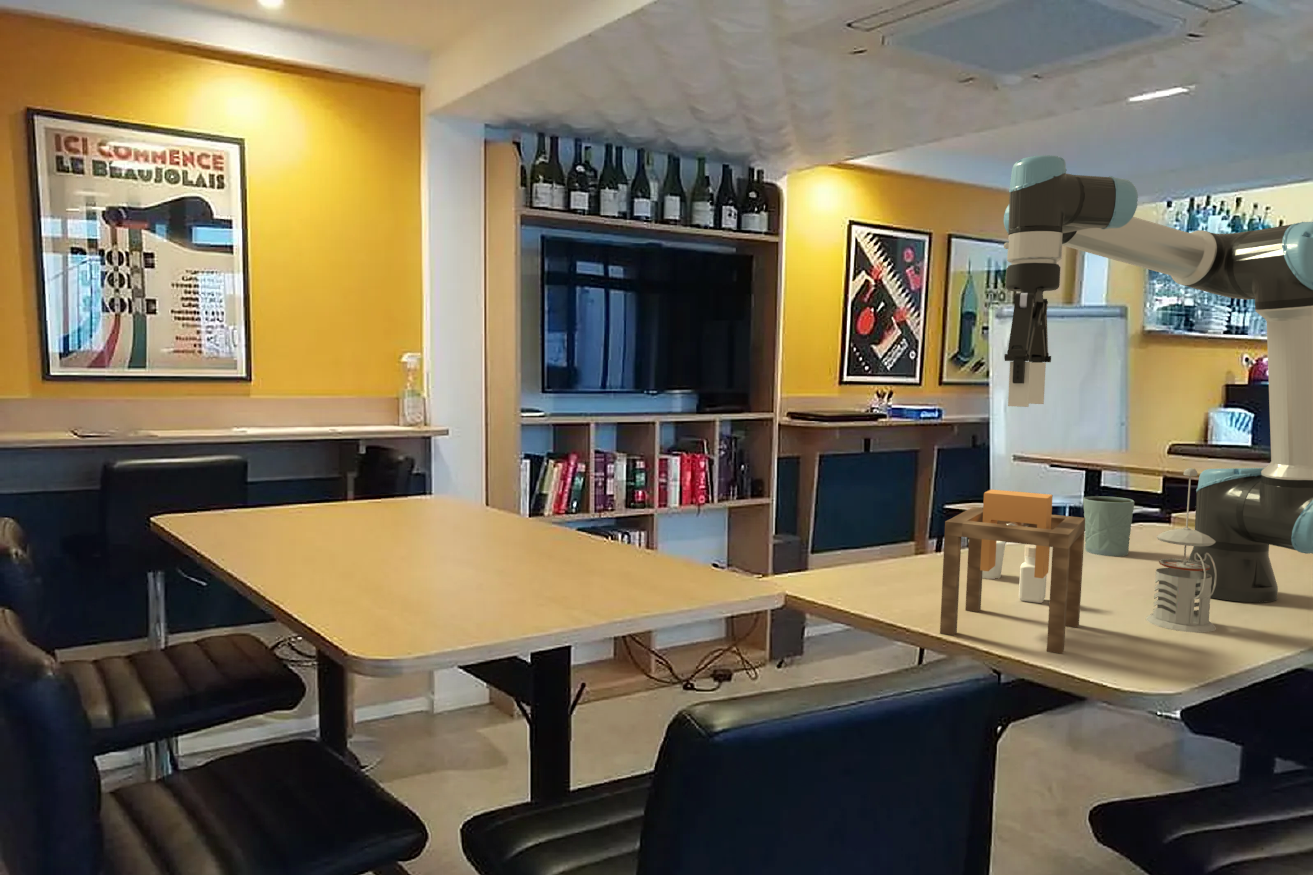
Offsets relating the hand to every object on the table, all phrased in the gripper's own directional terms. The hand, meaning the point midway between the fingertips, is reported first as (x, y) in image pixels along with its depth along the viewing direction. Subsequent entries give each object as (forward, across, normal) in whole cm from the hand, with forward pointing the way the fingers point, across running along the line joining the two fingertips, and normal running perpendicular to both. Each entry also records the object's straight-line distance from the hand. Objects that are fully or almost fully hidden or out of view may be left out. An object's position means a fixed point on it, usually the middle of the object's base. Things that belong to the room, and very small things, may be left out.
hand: (1026, 405), depth 139 cm
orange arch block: (+26, +1, 0) cm, 26 cm away
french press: (+35, -18, +22) cm, 45 cm away
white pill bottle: (+35, -20, -1) cm, 40 cm away
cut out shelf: (+34, +1, 0) cm, 35 cm away
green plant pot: (+35, -76, +5) cm, 84 cm away
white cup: (+35, -35, -12) cm, 51 cm away
